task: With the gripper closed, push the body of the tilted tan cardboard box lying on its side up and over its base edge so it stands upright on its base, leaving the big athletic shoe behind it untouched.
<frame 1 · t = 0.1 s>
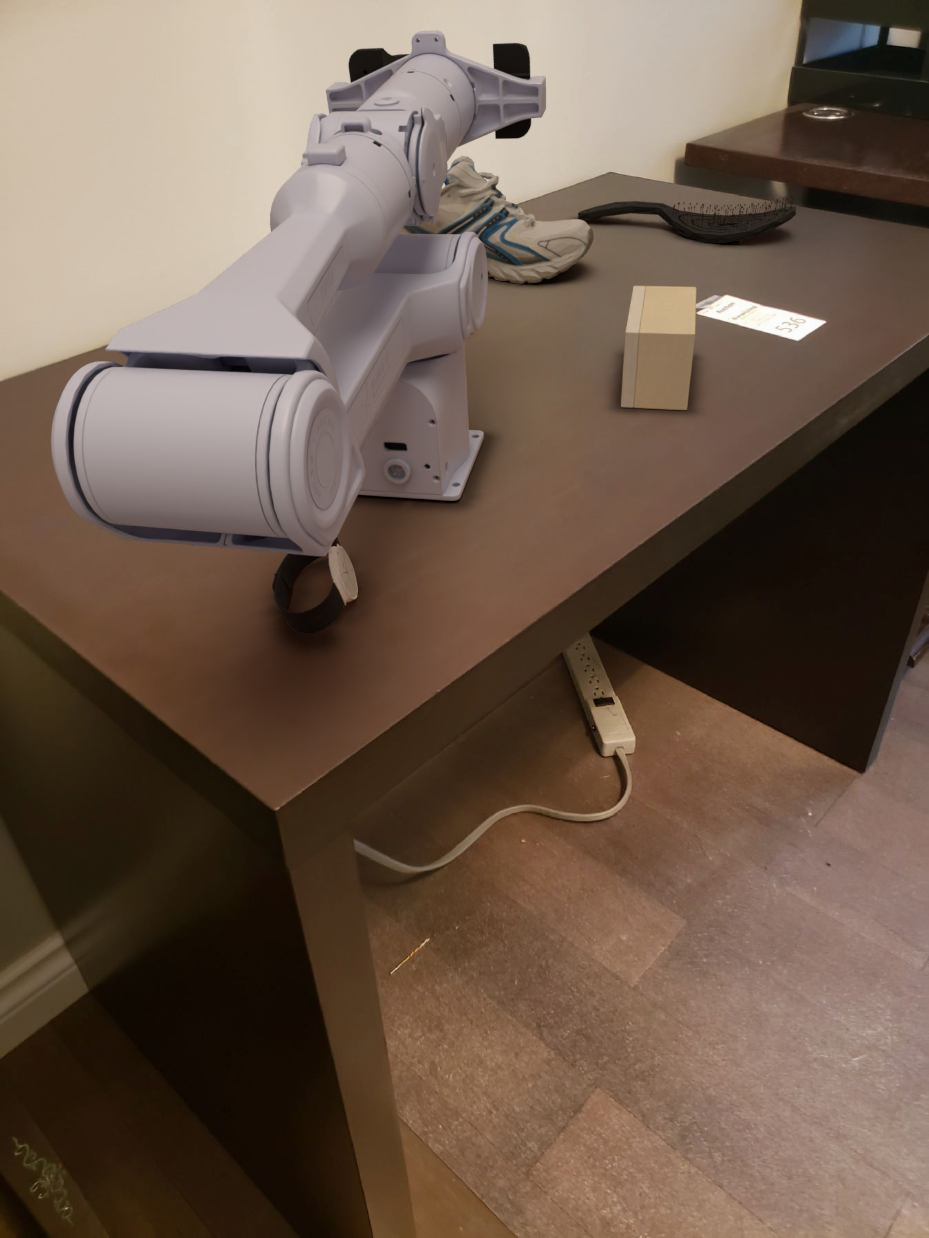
hand: (461, 69, 68), 22 cm above the table, tool horizontal, fingers open, 7 cm apart
hairbrush: (679, 231, 107), on the table
athletic shoe: (485, 270, 100), on the table
tilted tan cardboard box: (656, 382, 75), on the table
watch: (318, 603, 54), on the table
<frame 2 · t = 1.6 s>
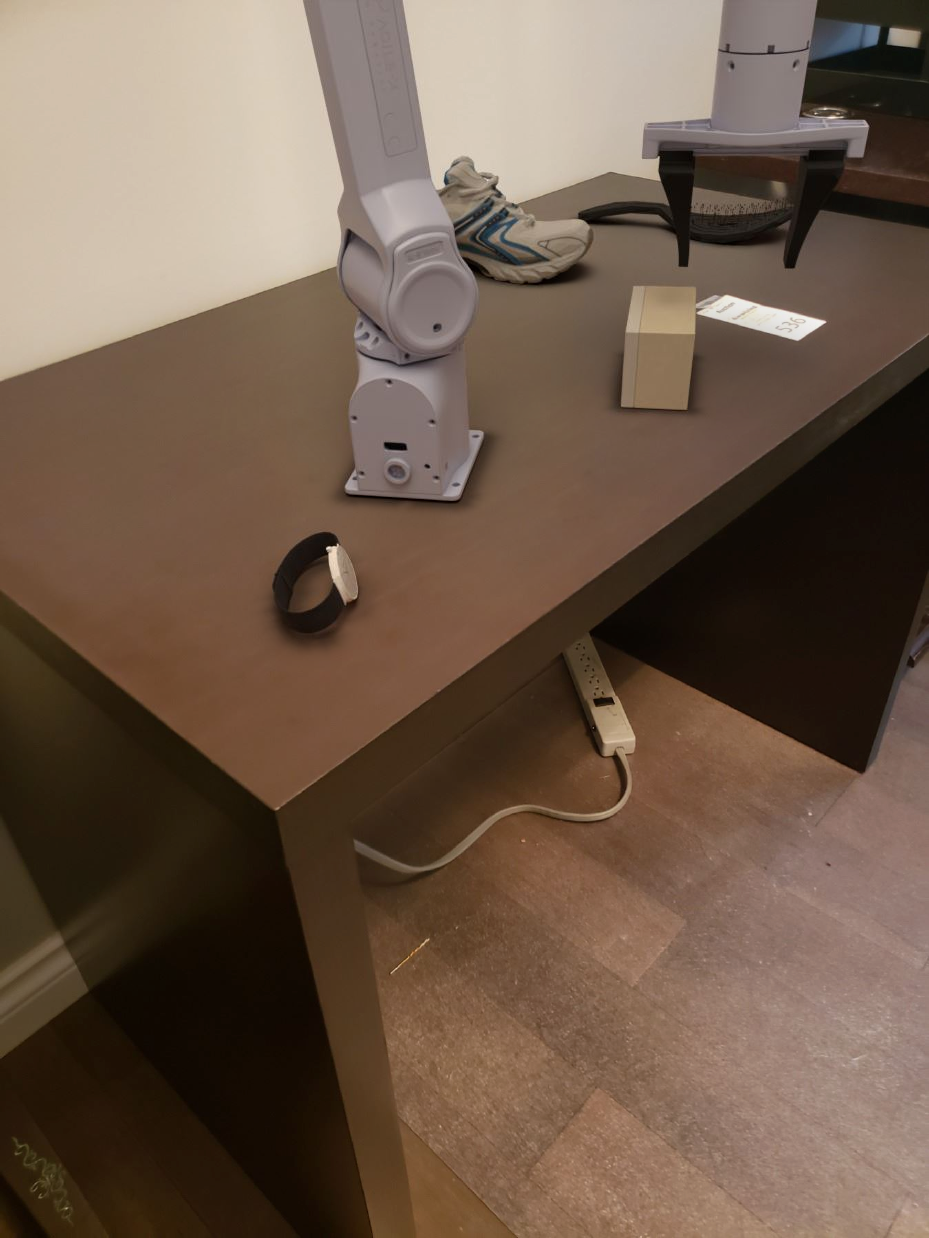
hand: (735, 263, 69), 9 cm above the table, tool pointing down, fingers open, 7 cm apart
nothing on the table moved.
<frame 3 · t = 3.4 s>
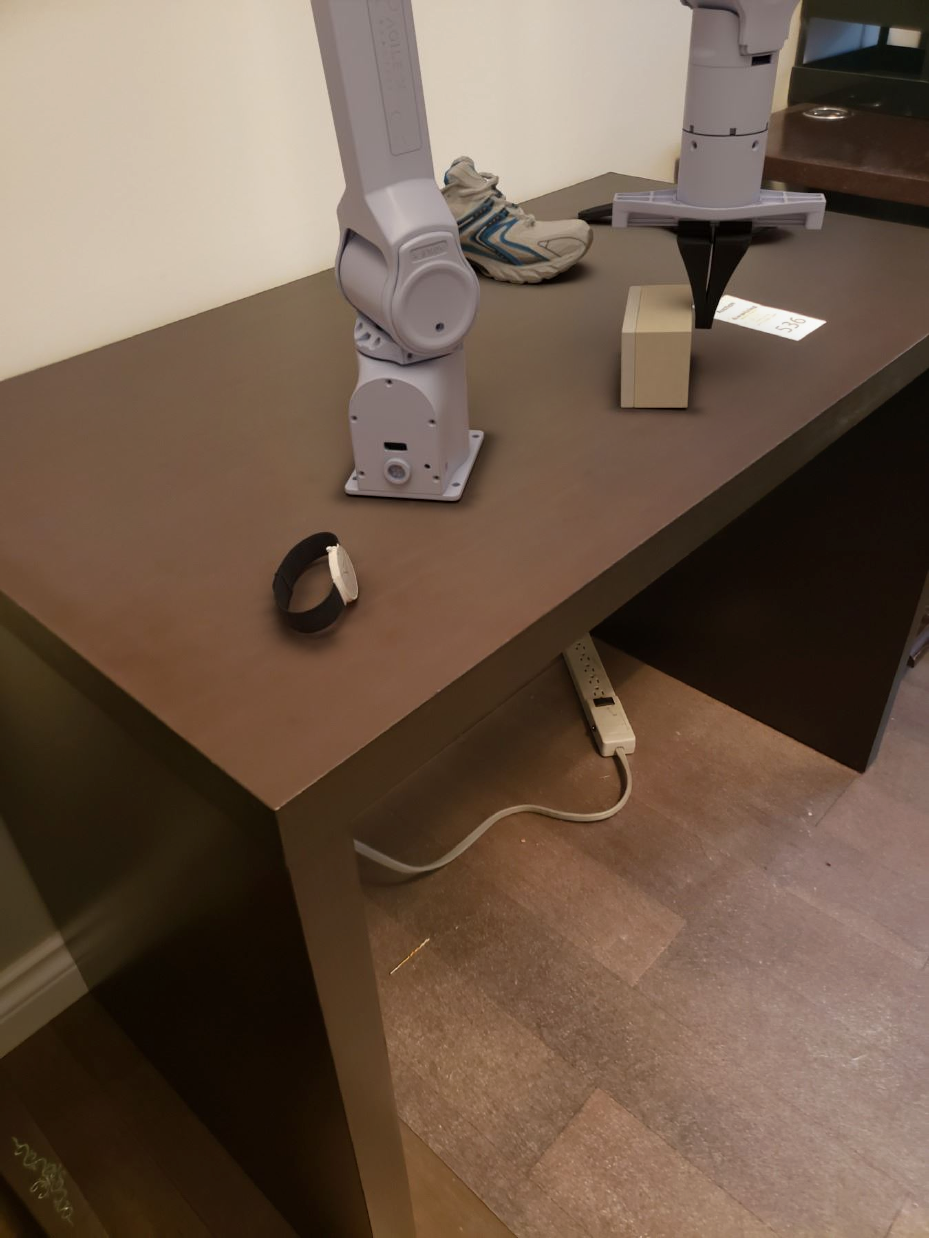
hand: (703, 324, 72), 5 cm above the table, tool pointing down, fingers closed
tilted tan cardboard box: (656, 380, 75), on the table, touching gripper
everything else where it was.
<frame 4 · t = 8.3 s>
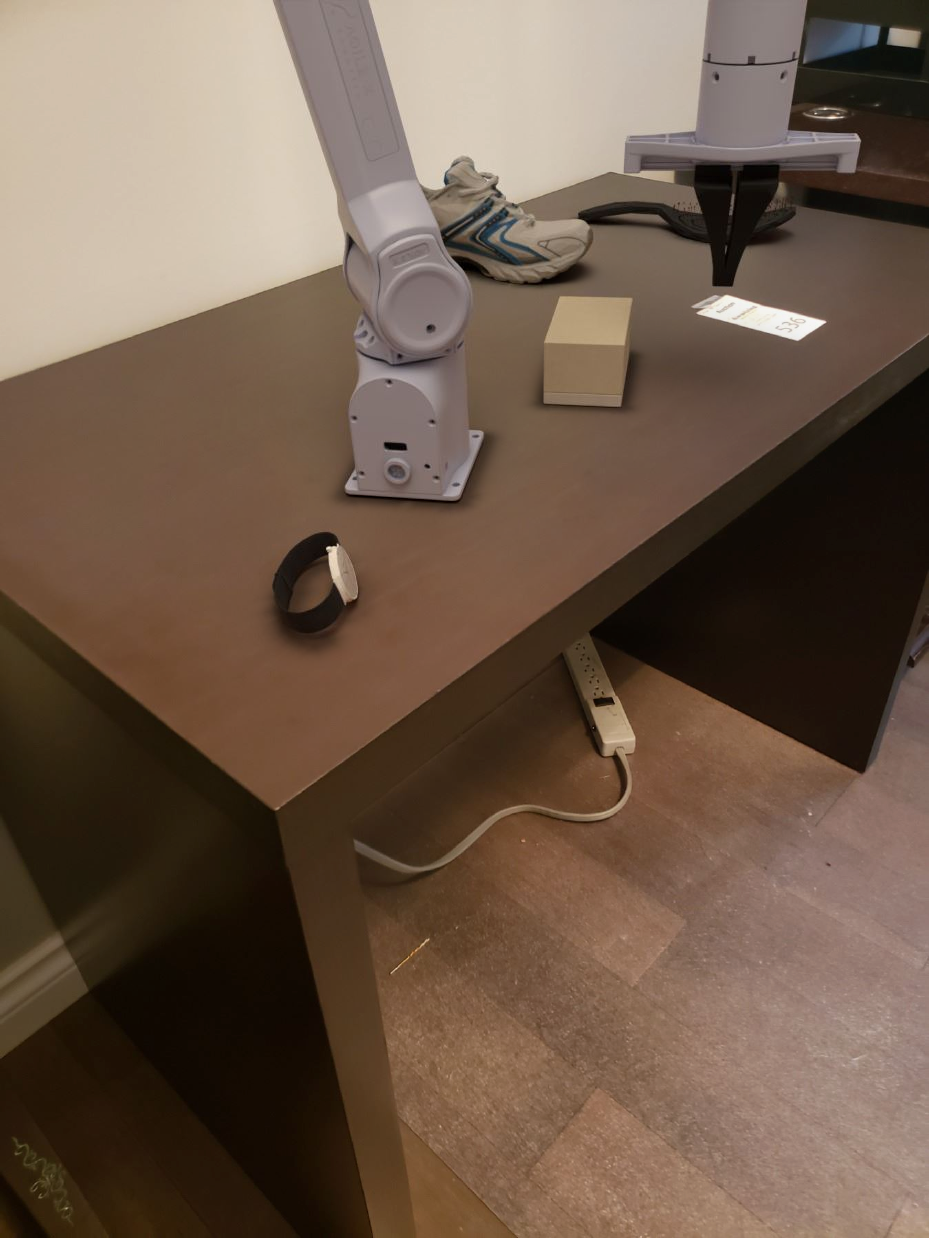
hand: (722, 282, 66), 9 cm above the table, tool pointing down, fingers closed
tilted tan cardboard box: (627, 351, 74), point 3 cm above the table, tilted 90°
everything else where it was.
at the end: tilted tan cardboard box tilted 90°; athletic shoe moved 0.2 cm from its start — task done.
